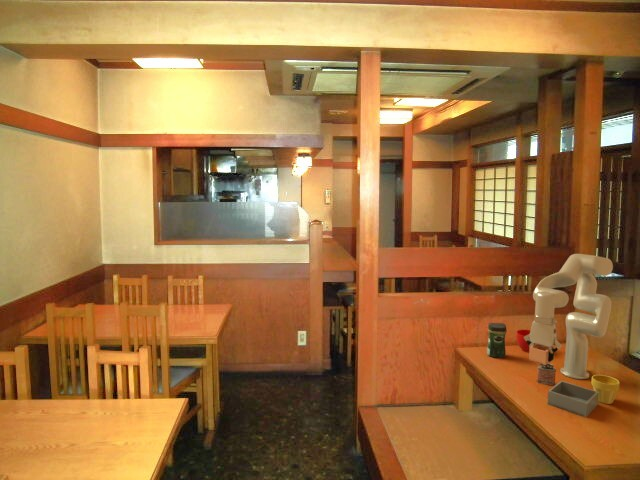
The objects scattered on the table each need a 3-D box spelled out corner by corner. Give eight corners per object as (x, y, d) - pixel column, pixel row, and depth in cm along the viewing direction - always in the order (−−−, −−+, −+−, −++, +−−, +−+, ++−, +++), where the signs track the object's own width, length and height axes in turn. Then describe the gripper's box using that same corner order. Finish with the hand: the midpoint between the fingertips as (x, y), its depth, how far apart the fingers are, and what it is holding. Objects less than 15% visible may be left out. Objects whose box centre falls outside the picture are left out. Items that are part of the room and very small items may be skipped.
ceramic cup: (551, 354, 245) (553, 337, 244) (521, 354, 246) (522, 337, 244) (540, 346, 258) (541, 329, 257) (511, 345, 258) (512, 329, 257)
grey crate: (560, 392, 200) (561, 380, 199) (597, 405, 189) (598, 392, 188) (547, 403, 190) (548, 390, 189) (586, 417, 179) (587, 403, 178)
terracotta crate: (537, 354, 201) (538, 342, 201) (553, 359, 196) (554, 346, 195) (528, 360, 195) (529, 347, 195) (545, 364, 190) (546, 351, 189)
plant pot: (591, 392, 201) (593, 372, 199) (619, 399, 194) (621, 378, 193) (588, 401, 193) (590, 380, 192) (616, 408, 186) (618, 387, 185)
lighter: (554, 382, 211) (555, 362, 209) (555, 385, 207) (557, 365, 206) (535, 380, 213) (537, 360, 212) (536, 383, 210) (538, 363, 209)
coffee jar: (503, 353, 247) (504, 321, 245) (506, 358, 239) (508, 325, 237) (485, 352, 248) (486, 320, 246) (488, 357, 241) (490, 325, 238)
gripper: (568, 322, 189) (565, 362, 192) (527, 313, 202) (525, 350, 205) (561, 326, 184) (558, 366, 187) (520, 317, 197) (518, 354, 200)
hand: (541, 358), depth 196 cm, fingers closed on terracotta crate, 7 cm apart
